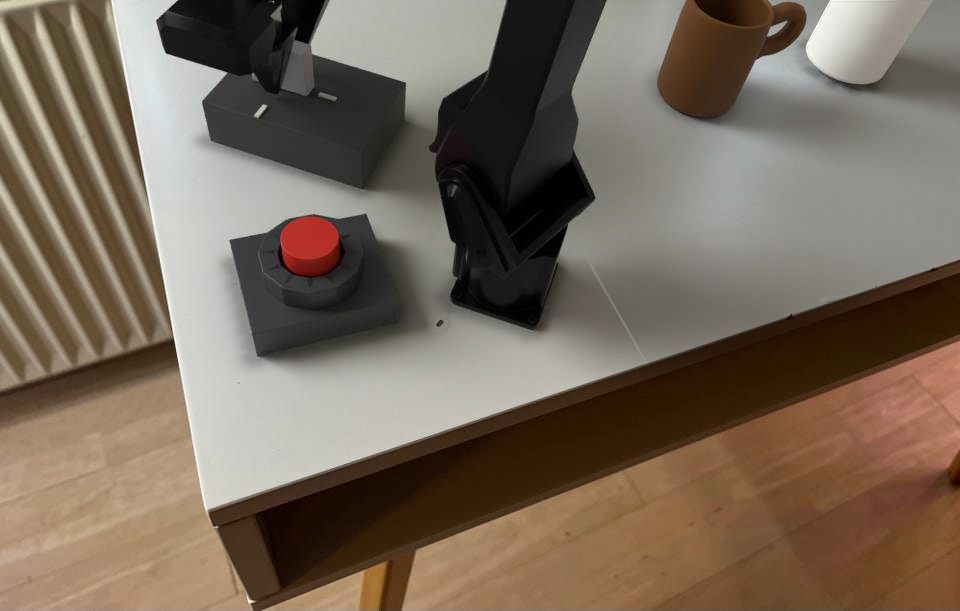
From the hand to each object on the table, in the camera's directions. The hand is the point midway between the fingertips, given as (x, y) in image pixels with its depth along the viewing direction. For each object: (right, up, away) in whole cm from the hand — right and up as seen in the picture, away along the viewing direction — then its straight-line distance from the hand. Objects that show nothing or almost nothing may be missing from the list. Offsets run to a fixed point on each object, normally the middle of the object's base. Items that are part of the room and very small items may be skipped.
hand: (283, 78), depth 58 cm
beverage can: (+52, +7, +18) cm, 56 cm away
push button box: (+4, -17, -6) cm, 18 cm away
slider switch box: (+1, -3, +3) cm, 5 cm away
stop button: (+4, -14, -9) cm, 18 cm away
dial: (0, 0, 0) cm, 0 cm away
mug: (+38, +2, +13) cm, 40 cm away
